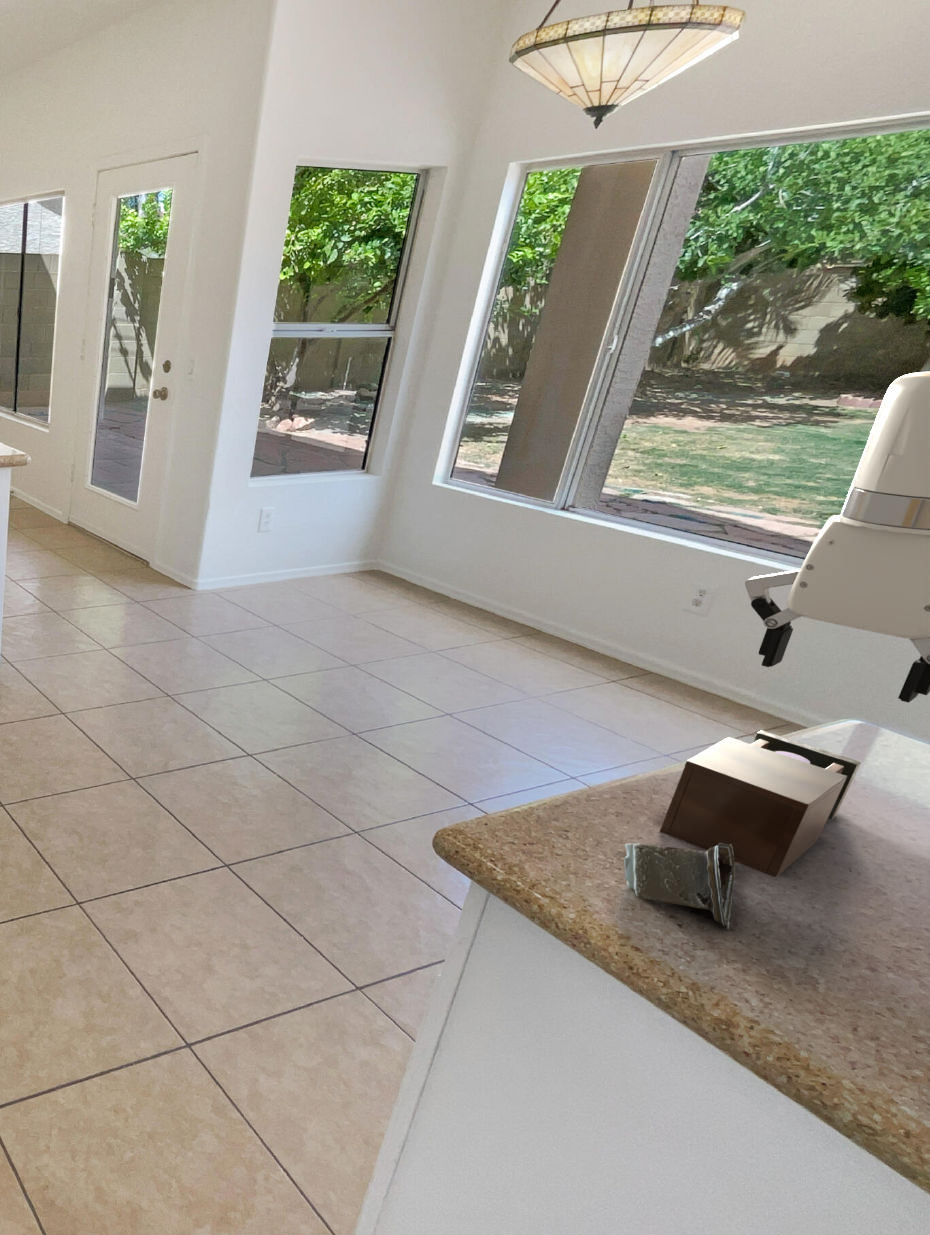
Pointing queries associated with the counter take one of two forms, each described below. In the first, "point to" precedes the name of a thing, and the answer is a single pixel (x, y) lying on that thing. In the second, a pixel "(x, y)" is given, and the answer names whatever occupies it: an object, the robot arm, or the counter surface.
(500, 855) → the counter surface
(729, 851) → the squashed foil tin
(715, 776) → the cabinet
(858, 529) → the robot arm
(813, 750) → the drawer
